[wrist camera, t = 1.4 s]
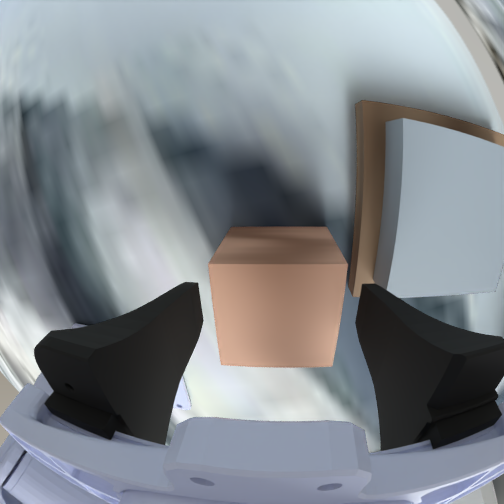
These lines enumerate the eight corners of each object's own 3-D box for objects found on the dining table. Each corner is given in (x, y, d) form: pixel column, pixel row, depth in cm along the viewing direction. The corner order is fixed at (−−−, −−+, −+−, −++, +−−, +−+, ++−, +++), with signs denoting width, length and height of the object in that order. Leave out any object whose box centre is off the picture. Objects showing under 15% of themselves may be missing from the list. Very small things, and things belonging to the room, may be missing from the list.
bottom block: (345, 280, 16) (352, 296, 14) (351, 106, 12) (362, 100, 10) (469, 275, 15) (484, 288, 13) (485, 133, 11) (504, 135, 9)
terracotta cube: (236, 307, 16) (221, 364, 12) (231, 226, 14) (208, 263, 10) (320, 308, 16) (332, 366, 11) (326, 226, 14) (347, 264, 9)
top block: (372, 279, 13) (384, 298, 11) (385, 122, 10) (402, 117, 9) (478, 277, 13) (495, 291, 11) (496, 150, 10) (518, 153, 8)
